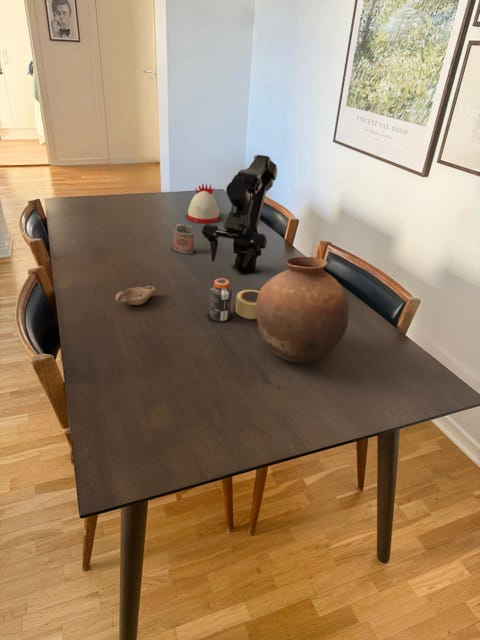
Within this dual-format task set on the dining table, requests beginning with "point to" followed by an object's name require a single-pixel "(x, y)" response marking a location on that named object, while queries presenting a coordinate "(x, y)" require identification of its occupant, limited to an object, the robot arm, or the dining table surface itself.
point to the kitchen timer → (203, 206)
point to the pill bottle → (220, 300)
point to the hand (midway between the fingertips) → (228, 264)
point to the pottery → (302, 311)
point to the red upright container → (183, 239)
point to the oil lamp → (135, 295)
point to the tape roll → (247, 304)
